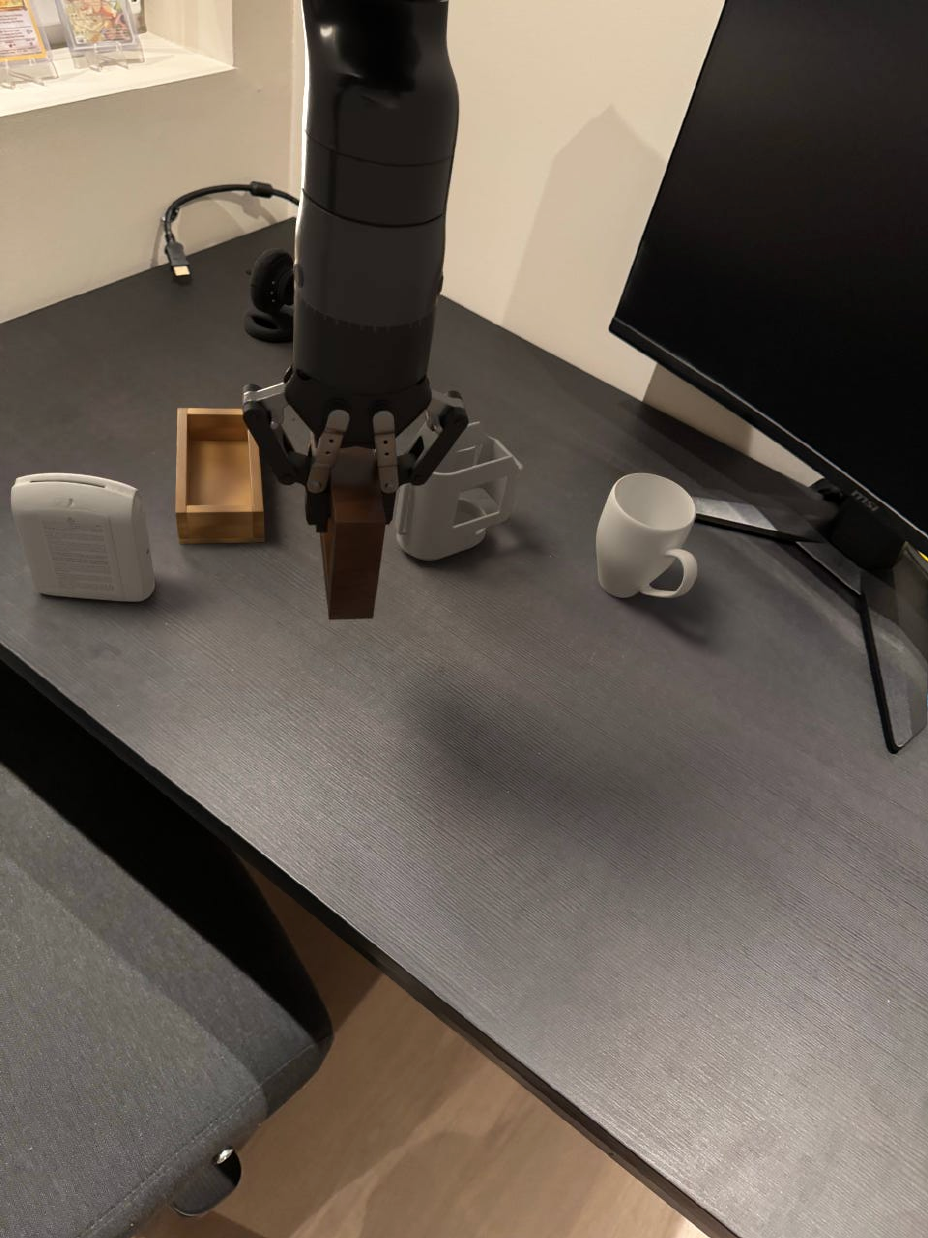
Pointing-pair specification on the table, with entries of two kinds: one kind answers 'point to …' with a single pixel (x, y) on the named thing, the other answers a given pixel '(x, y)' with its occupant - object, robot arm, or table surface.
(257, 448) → the holder
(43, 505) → the photo printer
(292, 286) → the webcam
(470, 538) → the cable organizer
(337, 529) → the brown wooden box
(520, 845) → the table surface
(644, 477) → the mug
